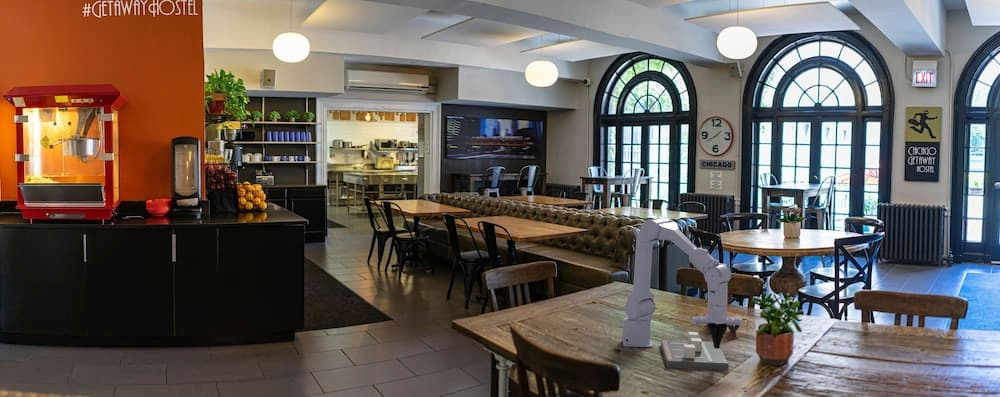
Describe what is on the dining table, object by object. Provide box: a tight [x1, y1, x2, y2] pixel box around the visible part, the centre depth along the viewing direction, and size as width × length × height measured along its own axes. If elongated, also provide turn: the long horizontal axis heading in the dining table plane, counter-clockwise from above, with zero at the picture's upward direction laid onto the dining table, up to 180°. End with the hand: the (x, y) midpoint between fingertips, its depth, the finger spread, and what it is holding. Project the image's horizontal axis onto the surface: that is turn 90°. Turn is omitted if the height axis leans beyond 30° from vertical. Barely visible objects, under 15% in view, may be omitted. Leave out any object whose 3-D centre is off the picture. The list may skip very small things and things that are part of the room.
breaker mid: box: [691, 337, 703, 352], centre depth 223 cm, size 3×3×3 cm
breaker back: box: [687, 331, 700, 345], centre depth 230 cm, size 3×3×3 cm
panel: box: [660, 339, 729, 371], centre depth 224 cm, size 18×22×2 cm
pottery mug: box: [706, 324, 741, 341], centre depth 247 cm, size 12×10×8 cm
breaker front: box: [684, 344, 695, 358], centre depth 217 cm, size 3×3×3 cm
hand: (716, 347), depth 216 cm, fingers closed
